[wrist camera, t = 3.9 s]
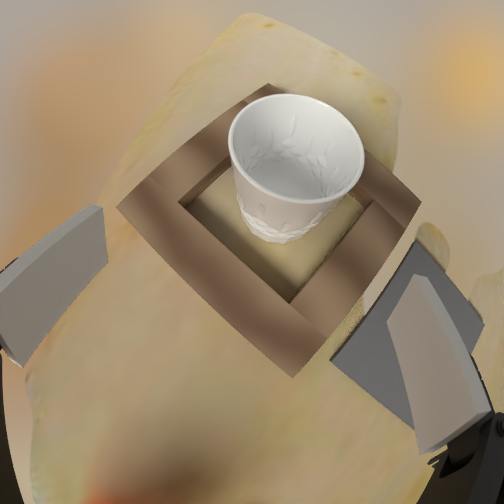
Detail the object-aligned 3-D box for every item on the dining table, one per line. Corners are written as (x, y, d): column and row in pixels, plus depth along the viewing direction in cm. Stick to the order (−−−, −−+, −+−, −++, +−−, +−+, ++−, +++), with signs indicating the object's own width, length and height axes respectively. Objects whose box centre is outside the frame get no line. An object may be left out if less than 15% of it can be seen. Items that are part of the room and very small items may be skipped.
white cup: (308, 263, 23) (353, 224, 13) (220, 233, 23) (205, 175, 13) (329, 185, 25) (370, 118, 15) (250, 159, 25) (254, 81, 15)
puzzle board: (267, 95, 27) (268, 83, 25) (411, 209, 24) (421, 201, 23) (124, 215, 23) (115, 207, 21) (288, 373, 21) (292, 378, 19)
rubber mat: (413, 242, 24) (416, 240, 23) (481, 324, 22) (484, 324, 21) (329, 360, 21) (331, 361, 20) (417, 432, 19) (420, 433, 18)
